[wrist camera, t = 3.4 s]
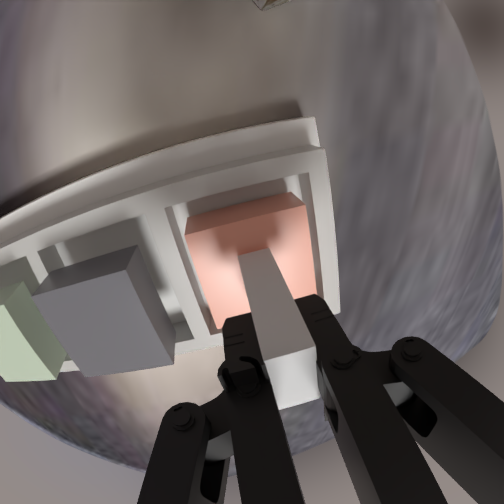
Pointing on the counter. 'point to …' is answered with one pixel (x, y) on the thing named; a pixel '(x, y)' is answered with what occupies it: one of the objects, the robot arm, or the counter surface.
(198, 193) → the keypad board
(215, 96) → the counter surface
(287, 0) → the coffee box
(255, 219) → the key coral
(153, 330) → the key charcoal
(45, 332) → the key sage
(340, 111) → the counter surface
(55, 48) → the counter surface
